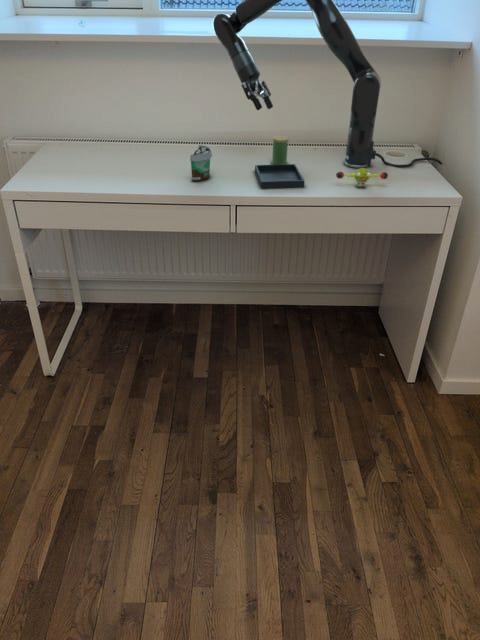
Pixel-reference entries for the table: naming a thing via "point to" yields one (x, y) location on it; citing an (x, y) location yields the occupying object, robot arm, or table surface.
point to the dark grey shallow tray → (279, 176)
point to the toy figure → (362, 176)
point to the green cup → (279, 150)
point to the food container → (200, 164)
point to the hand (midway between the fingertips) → (265, 108)
